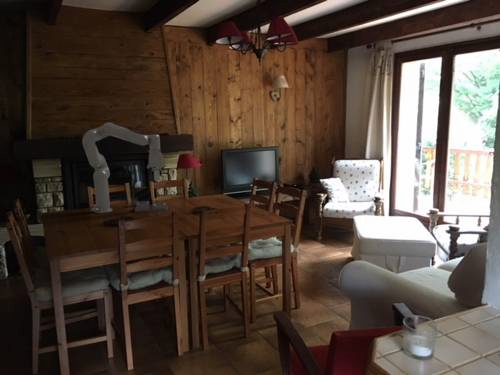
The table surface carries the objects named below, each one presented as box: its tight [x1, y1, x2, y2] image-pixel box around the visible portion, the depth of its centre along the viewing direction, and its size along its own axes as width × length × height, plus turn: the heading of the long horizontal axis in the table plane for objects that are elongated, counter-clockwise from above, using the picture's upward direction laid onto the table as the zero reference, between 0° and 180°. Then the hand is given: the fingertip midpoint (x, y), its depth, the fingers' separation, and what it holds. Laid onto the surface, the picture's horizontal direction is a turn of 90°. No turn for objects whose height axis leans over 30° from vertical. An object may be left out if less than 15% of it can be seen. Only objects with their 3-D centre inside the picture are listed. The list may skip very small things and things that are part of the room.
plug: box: [153, 167, 161, 182], centre depth 317 cm, size 4×4×9 cm
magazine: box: [134, 185, 153, 206], centre depth 336 cm, size 4×13×15 cm, turn 125°
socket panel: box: [134, 201, 169, 213], centre depth 319 cm, size 24×11×6 cm, turn 103°
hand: (156, 176), depth 317 cm, fingers closed on plug, 4 cm apart
